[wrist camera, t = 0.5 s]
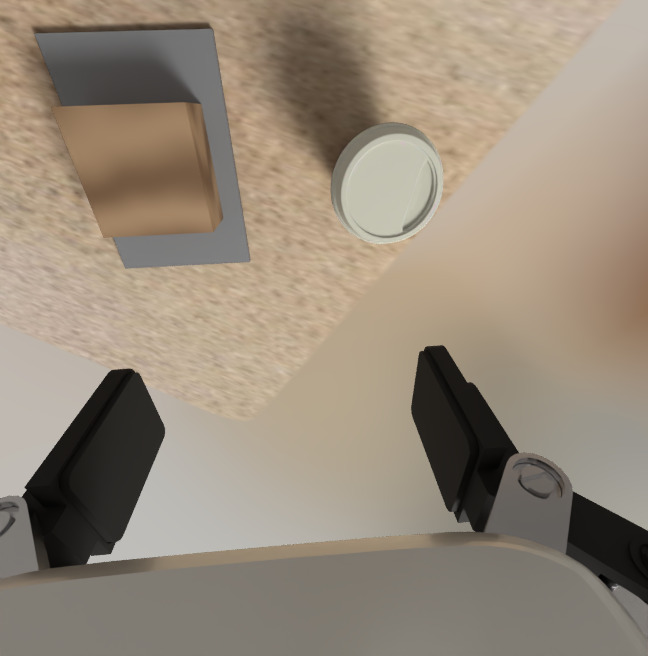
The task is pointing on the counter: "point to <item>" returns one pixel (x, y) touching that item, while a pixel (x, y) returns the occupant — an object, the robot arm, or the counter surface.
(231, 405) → the counter surface
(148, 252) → the mat
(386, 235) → the coffee cup
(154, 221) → the block
